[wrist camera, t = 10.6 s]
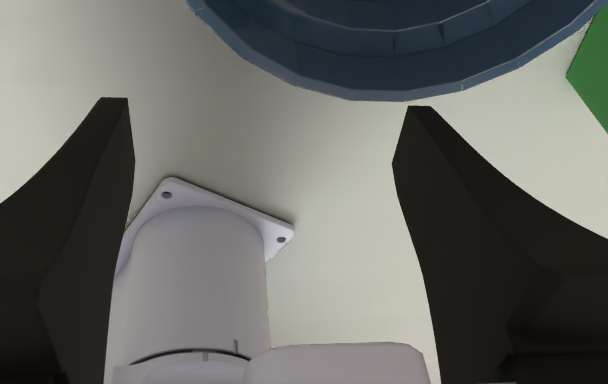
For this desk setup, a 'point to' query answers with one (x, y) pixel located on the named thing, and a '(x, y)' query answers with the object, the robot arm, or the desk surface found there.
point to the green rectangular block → (593, 68)
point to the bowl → (392, 41)
